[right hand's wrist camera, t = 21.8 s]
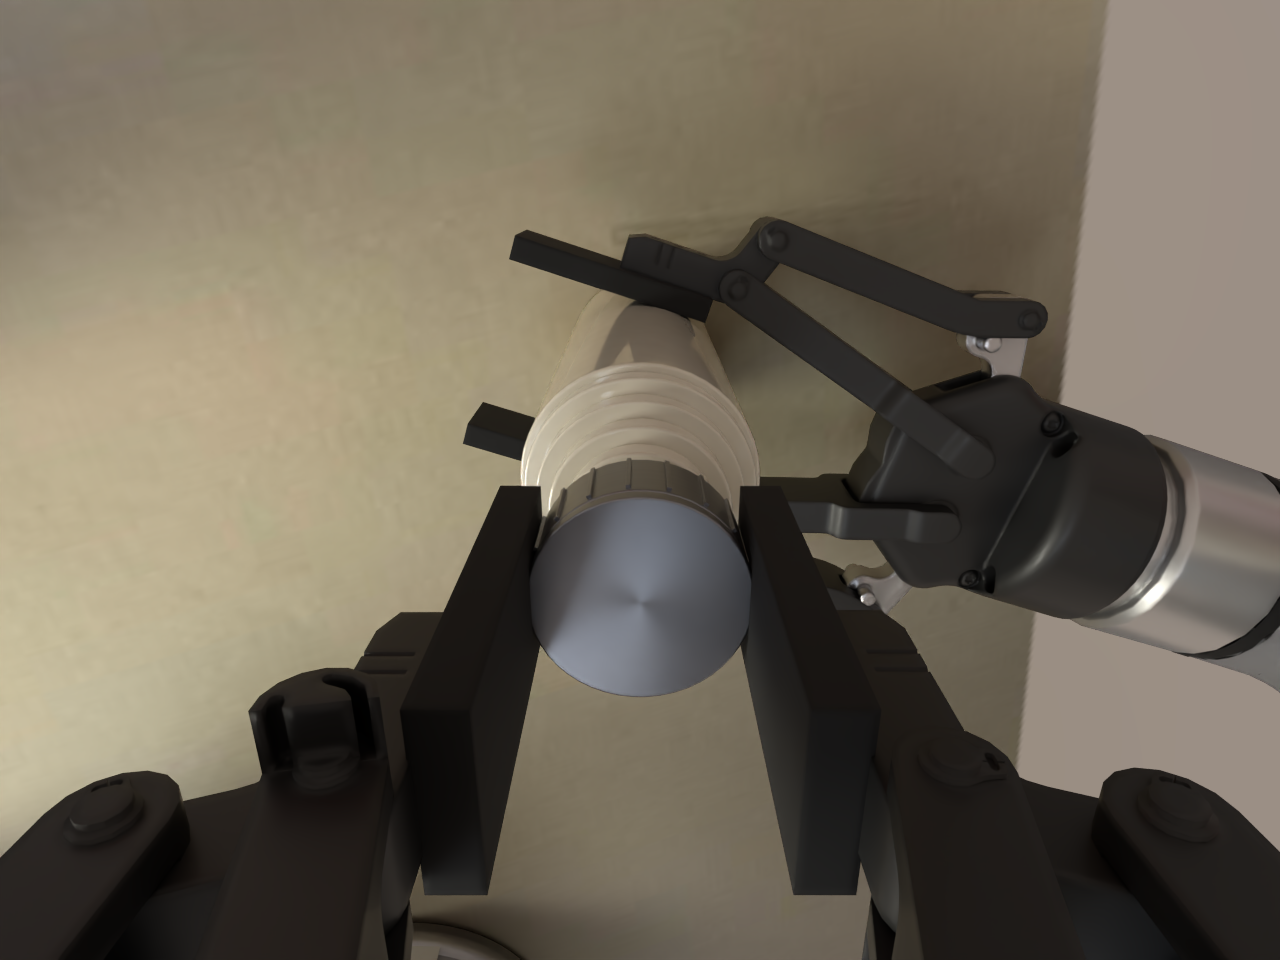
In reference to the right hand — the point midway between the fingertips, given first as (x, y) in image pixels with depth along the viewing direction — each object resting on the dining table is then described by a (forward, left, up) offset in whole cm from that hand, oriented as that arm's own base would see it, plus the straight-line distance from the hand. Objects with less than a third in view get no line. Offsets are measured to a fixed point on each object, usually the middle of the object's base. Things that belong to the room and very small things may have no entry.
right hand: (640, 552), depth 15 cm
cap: (0, 0, +2) cm, 2 cm away
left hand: (-1, +5, -13) cm, 14 cm away
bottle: (0, 0, -19) cm, 19 cm away
